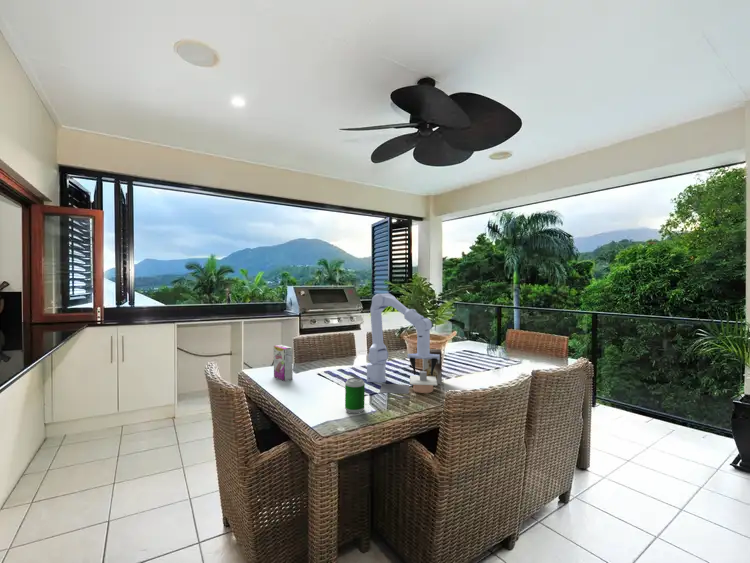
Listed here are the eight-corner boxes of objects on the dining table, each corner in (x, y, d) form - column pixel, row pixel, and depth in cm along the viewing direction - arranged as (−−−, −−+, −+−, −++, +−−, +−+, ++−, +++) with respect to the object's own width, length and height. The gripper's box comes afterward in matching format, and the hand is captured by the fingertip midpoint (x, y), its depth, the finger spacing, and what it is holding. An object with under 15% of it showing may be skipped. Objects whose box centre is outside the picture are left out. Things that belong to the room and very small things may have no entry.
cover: (409, 384, 156) (409, 375, 156) (410, 376, 168) (410, 368, 168) (437, 385, 154) (437, 376, 154) (435, 377, 166) (435, 369, 166)
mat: (379, 393, 157) (379, 392, 157) (382, 384, 170) (382, 383, 170) (408, 394, 155) (408, 393, 155) (409, 385, 168) (409, 384, 168)
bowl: (413, 393, 157) (413, 383, 157) (413, 387, 166) (413, 377, 166) (433, 394, 156) (433, 384, 156) (432, 388, 165) (432, 378, 165)
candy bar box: (273, 377, 182) (273, 345, 182) (281, 375, 186) (281, 344, 186) (284, 381, 174) (284, 348, 174) (293, 379, 178) (293, 347, 178)
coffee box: (440, 381, 176) (441, 349, 176) (441, 385, 170) (442, 351, 170) (422, 380, 177) (422, 348, 177) (422, 384, 171) (423, 351, 171)
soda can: (368, 410, 137) (368, 379, 137) (354, 416, 131) (355, 383, 131) (354, 405, 142) (355, 376, 142) (341, 410, 136) (341, 380, 136)
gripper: (407, 346, 158) (407, 376, 158) (440, 347, 156) (439, 377, 156) (407, 343, 165) (407, 372, 165) (438, 344, 163) (438, 373, 163)
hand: (423, 374), depth 161 cm, fingers open, 7 cm apart
